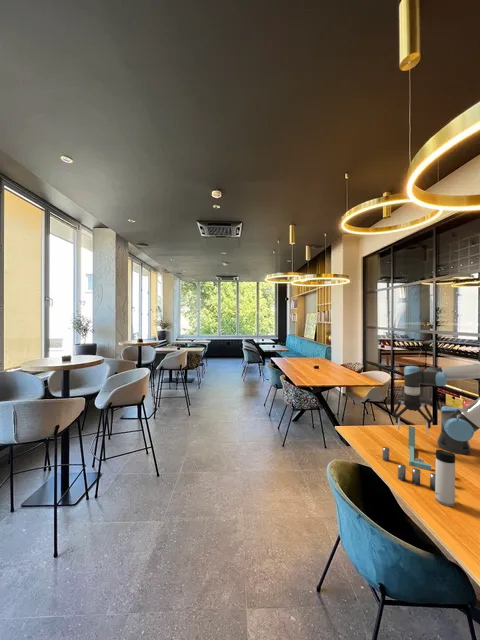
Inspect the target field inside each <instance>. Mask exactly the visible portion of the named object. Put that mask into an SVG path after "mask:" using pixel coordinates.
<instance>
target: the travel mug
mask: <svg viewBox="0 0 480 640" xmlns="http://www.w3.org/2000/svg"><path fill="white" fill-rule="evenodd" d="M435 474H436V475H435V491H434V492H435V493H434V497H435V501H436V502H438V503H439V504H441V505H442V506H445V507H454V506H455V505H456V453H453V452H449V451H446V450H444V449H436V450H435Z"/></svg>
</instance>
